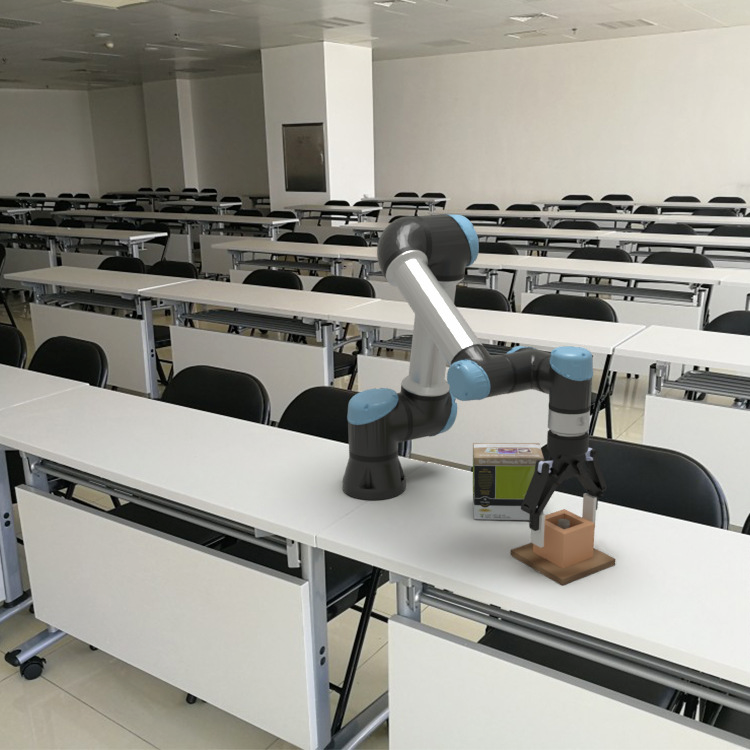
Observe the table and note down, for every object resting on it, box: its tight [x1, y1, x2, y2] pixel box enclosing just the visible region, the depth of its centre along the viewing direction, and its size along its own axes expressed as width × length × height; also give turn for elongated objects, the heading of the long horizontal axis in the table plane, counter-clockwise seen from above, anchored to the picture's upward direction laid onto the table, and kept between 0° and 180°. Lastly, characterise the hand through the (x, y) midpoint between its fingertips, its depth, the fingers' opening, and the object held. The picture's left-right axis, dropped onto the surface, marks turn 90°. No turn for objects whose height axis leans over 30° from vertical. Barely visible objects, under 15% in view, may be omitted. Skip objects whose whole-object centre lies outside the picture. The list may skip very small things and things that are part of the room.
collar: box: [533, 508, 596, 568], centre depth 154 cm, size 8×8×7 cm
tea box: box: [472, 442, 545, 521], centre depth 175 cm, size 15×10×15 cm
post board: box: [510, 519, 616, 586], centre depth 154 cm, size 14×14×8 cm
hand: (563, 535), depth 153 cm, fingers open, 13 cm apart
